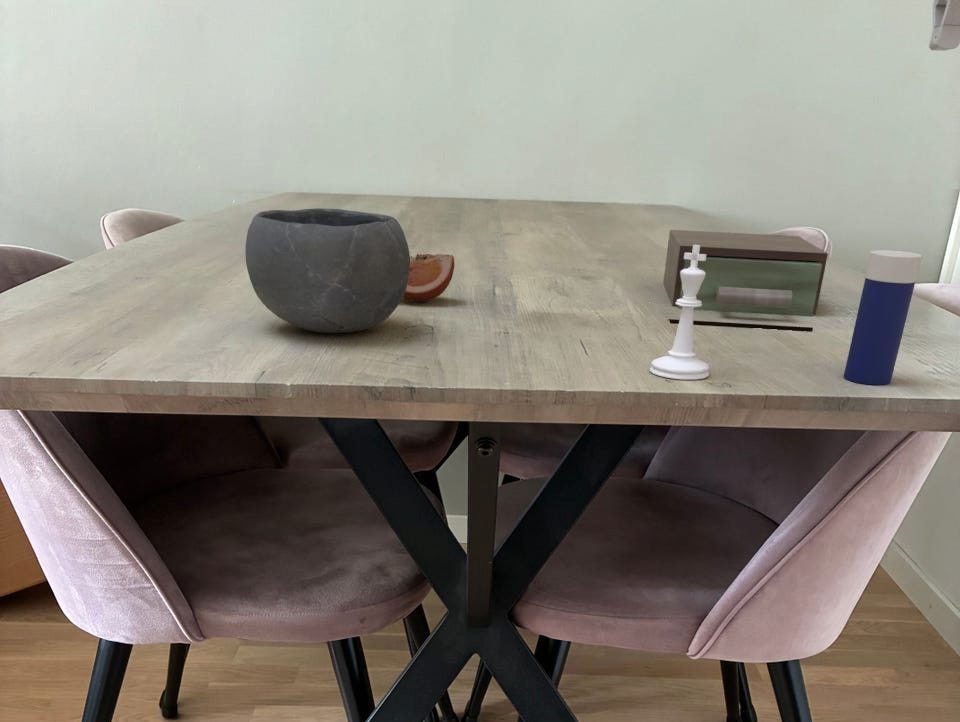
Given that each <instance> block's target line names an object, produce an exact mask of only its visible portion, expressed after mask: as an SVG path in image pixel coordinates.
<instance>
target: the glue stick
mask: <svg viewBox="0 0 960 722" xmlns="http://www.w3.org/2000/svg"><path fill="white" fill-rule="evenodd" d="M869 252H870V253H869V256H868V260H867V266H866V270H865V274H864V277H865V278H864V281H863V287H862V292H861V296H860V301H859V305H858V309H857V314H856V317H855V318H856V319H855V323H854V327H853V333H852V336H851V340H850V346H849V349H848V354H847V359H846V363H845V367H844V372H843V378H844V379H845V380H847V381H849V382H853V383H857V384H862V385H869V386H871V385H872V386H883V385H889V384H890V383H892V378H893V375H894V371H895V366H896V362H897V358H898V354H899V350H900V345H901V342H902V338H903V333H904V330H905V326H906V321H907V317H908V314H909V309H910V305H911V301H912V298H913V293H914V289H915V284H916V282H917V279H918V275H919V271H920V268H921V263H922V261H923V260H922V259H923V255H922V254H921V253H916V252H911V251H903V250H891V249H889V250H888V249H877V250H876V249H874V250H871V251H869Z"/></svg>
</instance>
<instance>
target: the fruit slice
mask: <svg viewBox="0 0 960 722" xmlns="http://www.w3.org/2000/svg"><path fill="white" fill-rule="evenodd" d="M454 270H455V257H454V255H453V254H443V253H442V254H440V253H439V254H438V253H437V254H435V255H434V254H430V253H425V254H419V253H417V254H416V255H415V256H412V255H410V271H409V278H408V284H407V287H406V291H405V294H404V296H403V298H402V299H405V300H407V301H410V302H413V303H425V302H429V301H431V300H434V299H436V298H438V297H439V296H440V295H442V294H443V293H444V292H445V291H446V290H447V288H448V286H449V285H450V284H451V281H452V279H453V275H454Z"/></svg>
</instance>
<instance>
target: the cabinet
mask: <svg viewBox="0 0 960 722" xmlns="http://www.w3.org/2000/svg"><path fill="white" fill-rule="evenodd" d="M693 245H700V251H699V254H705V255H707V256H725V257H744V258H763V259H781V260H800V261H808V262H815V263H821V264H822V269H821V274H820V279H819V284H818V289H817V294H816V299H815V304H814V309H813V314H812V315H814V316H816V315H817V310H818V305H819V301H820V295H821V291H822V286H823V280H824V276H825V270H826V266H827V265H826V264H827V261H828V255H829V253H828V252H826V251H825V250H823V249H821V248H820V247H818V246H816V245H814V244H813V243H811V242H809V241H808V240H805V239H804V238H802V237H801V236H799V235H783V234H782V235H781V234H780V235H779V234H762V233H761V234H759V233H744V232H743V233H740V232H723V231H721V232H720V231H703V230H684V229H670V230H669V233H668V242H667V251H666V258H665V267H664V273H663V282H662V283H663V284H662V285H663V286H664V287H663V288H664V289H665V292H666V294H667V297H668V299H669V302H670V305H671V307H677V308H678V305H676V304H675V303H676V302H677V299H679V297H680V289H681V276H680V272H681V270H683V266H684V253H692V250H693ZM679 321H680V319H675V318H674V319H673V318H668V322H669V324H671V325H679ZM693 326H702V327H703V326H704V327H722V328H737V329H739V328H740V329H753V328H762V329H761V330H770V329H777V330H776V331H787V330H792V331H791V332H804V331H806V332H807V333H812V332H813V329H814V327H812V326H793V325H779V324H778V325H775V324H759V323H742V322H725V321H710V320H709V321H707V320H693Z"/></svg>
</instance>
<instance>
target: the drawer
mask: <svg viewBox="0 0 960 722" xmlns="http://www.w3.org/2000/svg"><path fill="white" fill-rule="evenodd" d="M690 265H691V260H690V259H684V266H683V269H688V267H690ZM697 268H699V269H700V270H703V271H704V272H705V273H706V275H705V278H704V280H703V281H702V284H701V286H700V289H699V291H698V293H697V295H696V297H697V298H696V300H700V301H701V302H702V303H701V304H702V306H700V307H694V311H711V312H712V311H713V312H727V313H730V312H731V313H743V314H744V313H746V314H763V315H764V314H765V315H781V316H799V317H813V315H814V314H813V309H814V304H815V299H816V294H817V289H818V284H819V279H820V274H821V269H822V264H821V263H815V262H808V261H800V260H781V259H763V258H744V257H725V256H707V255H706V261H699V260H698V265H697ZM683 296H684V294H683V289H682V281H681V289H680V297H679V299H682V298H683ZM677 308H678V309H680V310H682V306H679V305H678V307H677Z"/></svg>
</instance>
